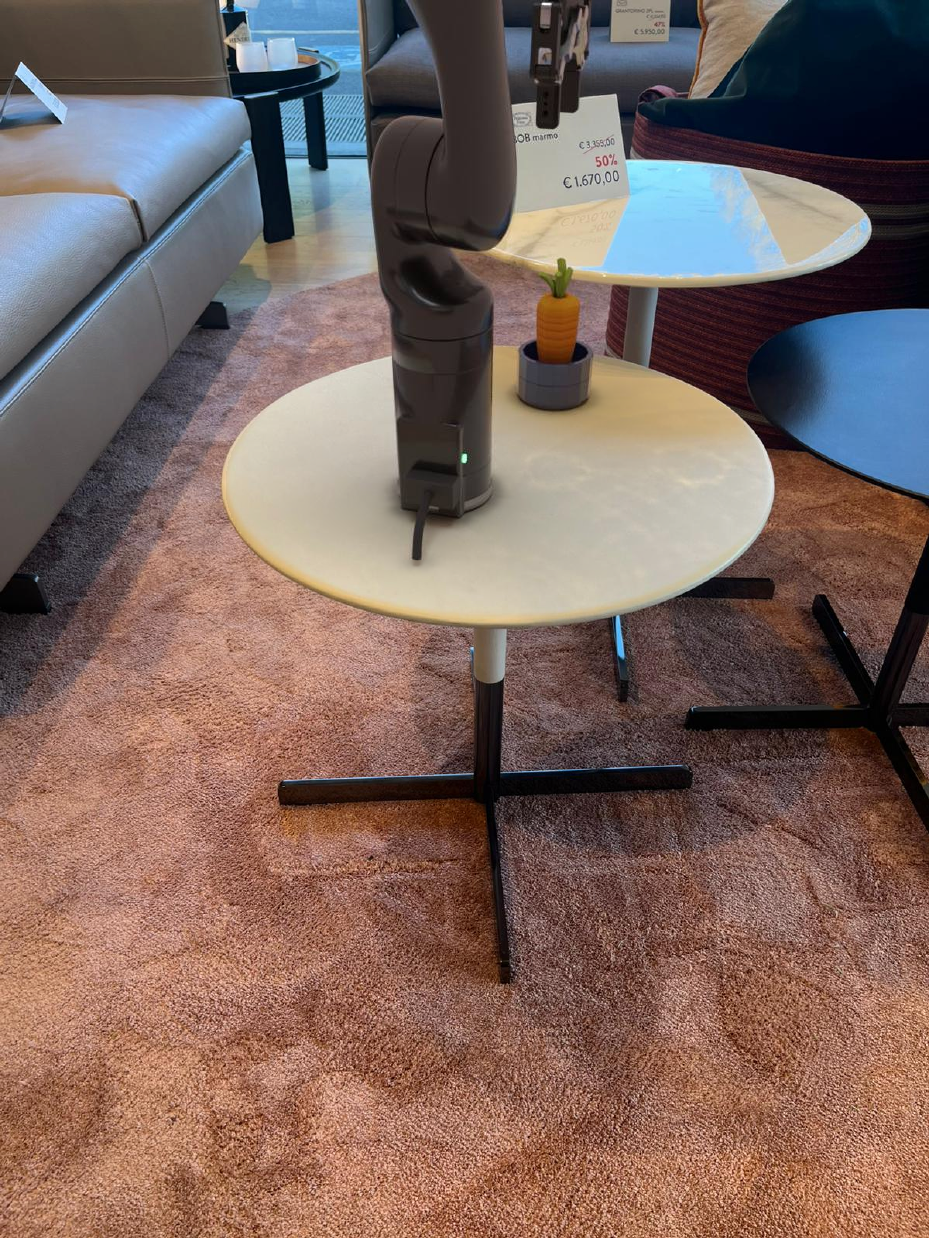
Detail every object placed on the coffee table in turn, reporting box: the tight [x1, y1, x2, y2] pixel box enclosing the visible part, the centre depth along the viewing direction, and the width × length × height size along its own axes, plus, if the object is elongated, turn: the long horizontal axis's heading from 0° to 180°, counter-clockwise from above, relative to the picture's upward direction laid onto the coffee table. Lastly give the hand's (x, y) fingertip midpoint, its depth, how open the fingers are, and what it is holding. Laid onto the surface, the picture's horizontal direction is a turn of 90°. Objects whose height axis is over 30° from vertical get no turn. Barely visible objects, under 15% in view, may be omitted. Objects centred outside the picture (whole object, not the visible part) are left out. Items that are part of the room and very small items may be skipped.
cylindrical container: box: [516, 338, 594, 411], centre depth 108 cm, size 9×9×6 cm
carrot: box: [535, 257, 581, 364], centre depth 105 cm, size 5×5×15 cm
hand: (557, 120), depth 93 cm, fingers open, 8 cm apart
